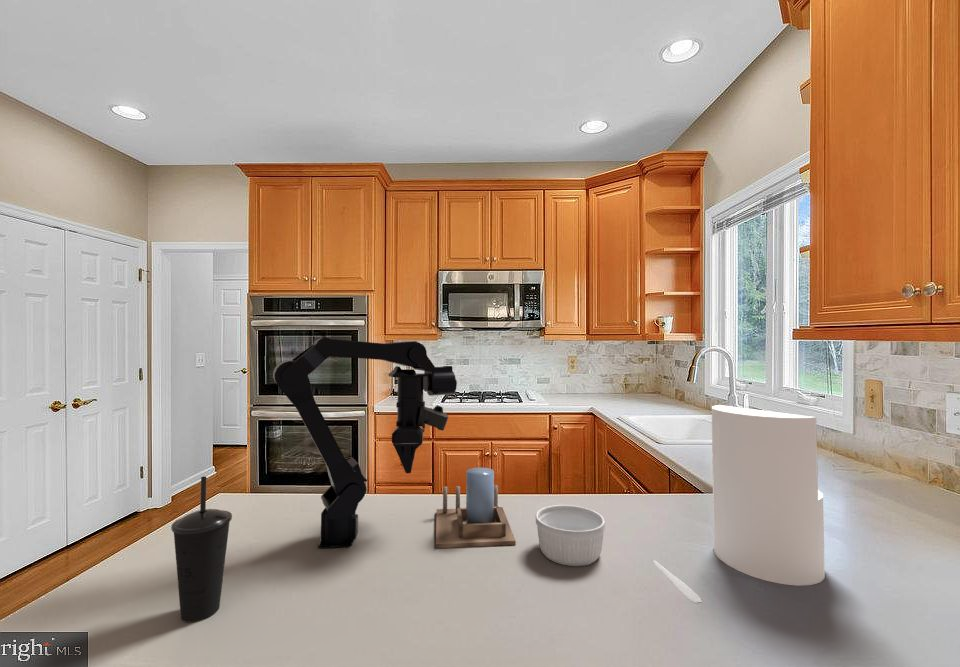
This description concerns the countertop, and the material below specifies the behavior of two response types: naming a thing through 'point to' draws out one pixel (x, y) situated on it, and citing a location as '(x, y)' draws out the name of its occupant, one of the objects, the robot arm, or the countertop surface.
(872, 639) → the countertop surface
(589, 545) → the ramekin
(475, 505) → the pale blue pillar candle
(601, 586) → the countertop surface
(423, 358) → the robot arm
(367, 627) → the countertop surface
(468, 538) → the drying rack
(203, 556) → the drinking cup
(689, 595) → the butter knife
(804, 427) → the cylinder
